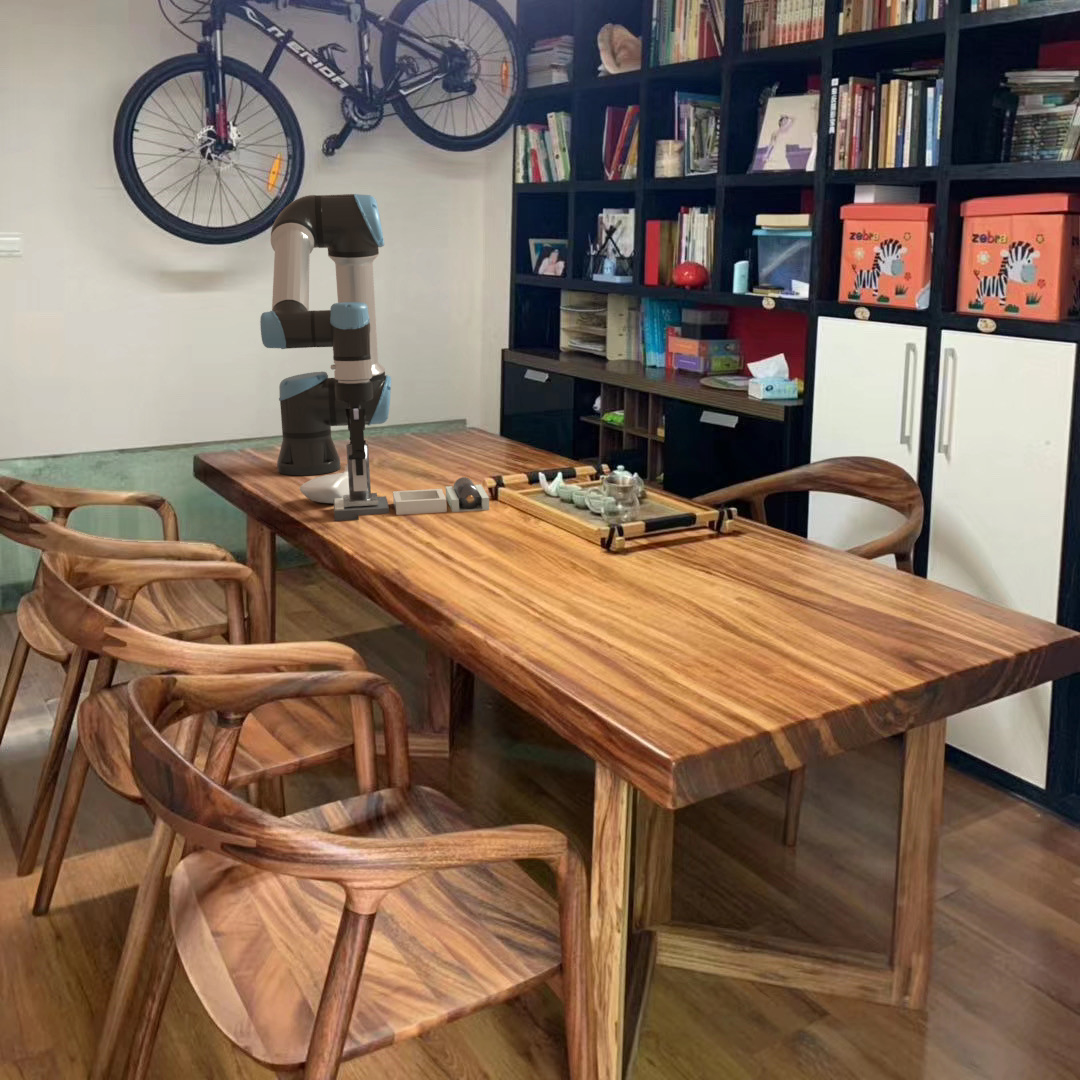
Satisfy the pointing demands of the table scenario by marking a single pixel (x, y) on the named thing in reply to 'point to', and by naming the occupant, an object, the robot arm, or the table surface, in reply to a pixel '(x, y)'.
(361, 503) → the plate
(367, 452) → the cell
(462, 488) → the cell
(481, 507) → the trough
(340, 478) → the white rounded lump
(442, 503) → the white square tray
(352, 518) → the grey square base pad
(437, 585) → the table surface
